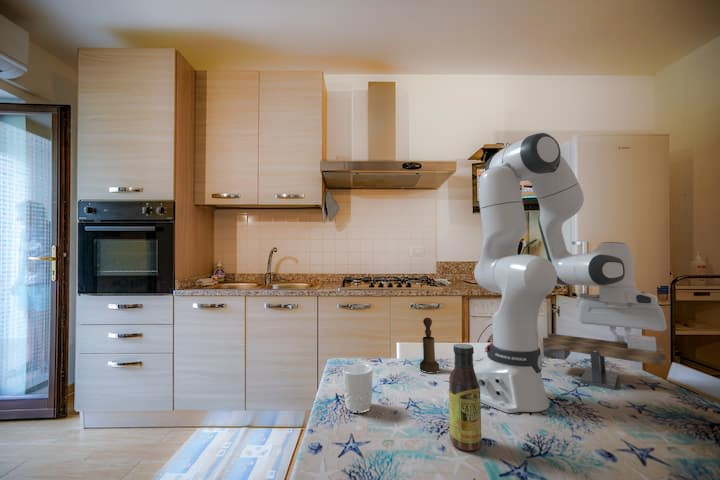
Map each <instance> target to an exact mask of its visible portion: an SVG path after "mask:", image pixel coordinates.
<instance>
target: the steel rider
mask: <svg viewBox="0 0 720 480" xmlns="http://www.w3.org/2000/svg"><path fill="white" fill-rule="evenodd" d="M627 343H628V349H634V350H641V351H649V352H656V353H657V350H656V344H657V340H656V337H655V336H649V335H641V334H632V333H630V334H629V335H628V336H627Z"/></svg>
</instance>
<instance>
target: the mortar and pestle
mask: <svg viewBox="0 0 720 480" xmlns="http://www.w3.org/2000/svg"><path fill="white" fill-rule="evenodd" d="M422 321H423V325H424V327H425V330H424V334H425V336H422V350H423V351H422V352H423V353H422V354H423V355H422V356H423V360H421V361H420V363H419V370H420V369H421V370H423V371H426V372H437V371H439V372H440V363H439V362H437V360H436V357H435V356H436V354H435V337H434V336H432V330H431V326H432V325H433V320H432V318H431V317H425V318H423V320H422Z"/></svg>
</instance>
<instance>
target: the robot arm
mask: <svg viewBox="0 0 720 480" xmlns="http://www.w3.org/2000/svg"><path fill="white" fill-rule="evenodd" d="M560 147H561V146H560V145H559V143H558V141H557V140H556V139H555V138H554V136H551V135H550V134H548V133H546V132H540V133H534V134H531V135H529V136H526V137H525V138H523V139H520V140H519V141H516V142H514V143H510V144H508V145H506V146H505V147H503V148H502V149H500V151H497V152H495V153H493V154H492V155H491V156H490V157H489V159H487V161H486V163H485V166H484V171H483V172H482V173H481V175H480V176H479V179H478V180H479V183H478V202H479V203H478V205H479V211H480V218H481V228H482V247H481V254H480V258H479V260H478V262H477V263H476V265H475V266H474V271H473V275H474V279H475V282H476V283H477V285H479V286H480V287H481V288H483V289H485V290H487V291H489V292H491V293H497V294H501V301H500V304H499V307H498V310H495V312H494V313H493V315H492V317H491V328H492V341H490V343H489V344H488V345H486V347H485V348H484V353H486V354H487V355H486V356H485V357H484V358H482V359H481V360H479V361H478V362H476V363H475V364H473V368H474V371H475V375H476V378H477V381H478V384H479V386H480V403H482V404H483V405H487V406H489V407H491V408H495V409H497V410H500V411H501V412H505V413H507V414H514V413H519V412H520V413H522V412H523V413H538V412H542V411H543V412H544V411H545V410H547V409H548V408H550V406H551V405H550V404H551V403H550V401H549V399H548V396H547V392H546V389H545V386H544V385H545V384H544V381H543V376H542V371H543V370H542V369H543V358H542V357H543V356H542V353H541V348H540V347H539V332H538V330H539V327H538V320H539V313H540V309H541V306H542V304H543V302H544V300H545V299H546V297H547V296H548V295H549V294H550V293H552V292H553V291H554V290H555V287H556V286H557V284H558V285H560V286H584V287H585V286H587V287H588V286H589V287H590V286H591V287H598V294H586V293H582V294H581V295H578V296H577V297H576V305H577V307H578V321H579V322H580V323H581V324H583V325H593V326H594V325H595V326H602V327H603V326H605V327H606V326H607V327H608V328H609V331H610V332H611V334H612V335H613V336H614V339H615V340H614V341H615V342H623V343H627V336H628V335H629V334H632V333H631V332H632V329H635V330H648V331H658V332H664V331H666V330H667V329H668V326H667V321H666V320H667V319H666V316H665V313H664V311H663V308H662V307H661V305H659V304H658V302H659V299H658V297H657V296H656V295H655V294H652V293H648V292H645V291H639V290H637V284H636V282H635V279H634V276H635V262H634V258H633V257H634V256H633V252H632V251H631V250H632V249H631V248H630V246H629V245H628V244H626V243H624V242H617V241H606V242H605V241H603V242H600V243H598V244H597V247H596V249H595V248H594V249H593V250H592V251H590V252H588V253H581V254H580V253H578V254H577V253H576V254H572V253H571V252H570V251H568V249H567V246H566V242H565V238H564V235H563V231H562V230H563V229H562V228H563V225H564V223H566V221H568V220H570V219H571V218H573V217H574V216H575V215H577V214H578V212H580V210H581V209H582V207H583V204H584V200H585V197H584V192H583V189H582V187H581V185H580V183H579V181H578V178H577V177H576V175H575V173H574V171H573V170H572V168H571V166H570V165H569V164H568V162H567V161H566V160H565V158H564V157H563V155H561V153H562V152H561V148H560ZM522 181H528V182H529V183H531V186H532V190H533V191H534V195H535V197H536V200H537V202H538V205H539V214H538V217H537V222H538V228H539V232H540V236H541V240H542V242H543V247H544V250H545V254H546V257H547V258H546V257H543V256H538V255H533V254H528V253H527V254H525V253H524V254H518V253H519V251H518V250H519V249H518V248H519V244H520V241H521V240H522V238H523V237H524V236H525V234H526V232H527V220H526V216H525V215H526V214H525V206H524V201H523V195H522V191H521V188H520V186H521V182H522ZM617 328H624V332H625V333H624V335H619V334H618V332H616V329H617Z"/></svg>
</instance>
